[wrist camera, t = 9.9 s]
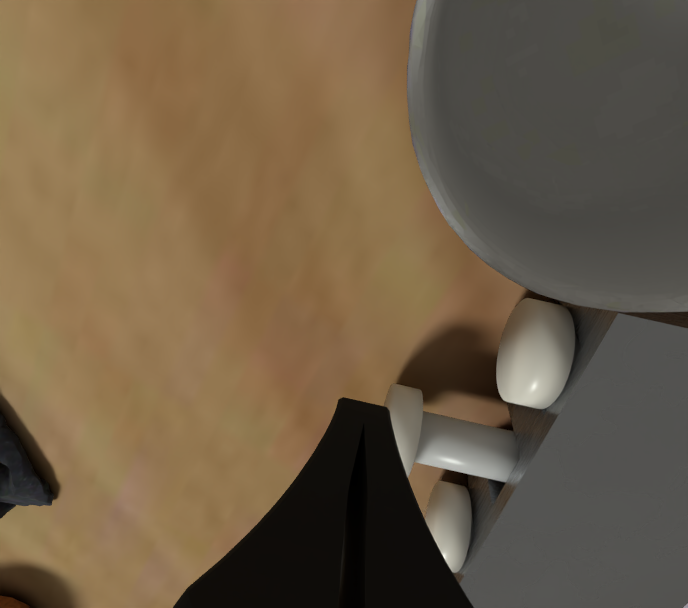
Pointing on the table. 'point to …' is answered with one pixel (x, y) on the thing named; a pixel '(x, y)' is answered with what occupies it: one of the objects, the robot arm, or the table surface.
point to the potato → (11, 603)
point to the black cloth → (18, 475)
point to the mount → (594, 479)
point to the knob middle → (448, 439)
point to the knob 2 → (536, 353)
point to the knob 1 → (451, 522)
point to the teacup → (560, 142)
